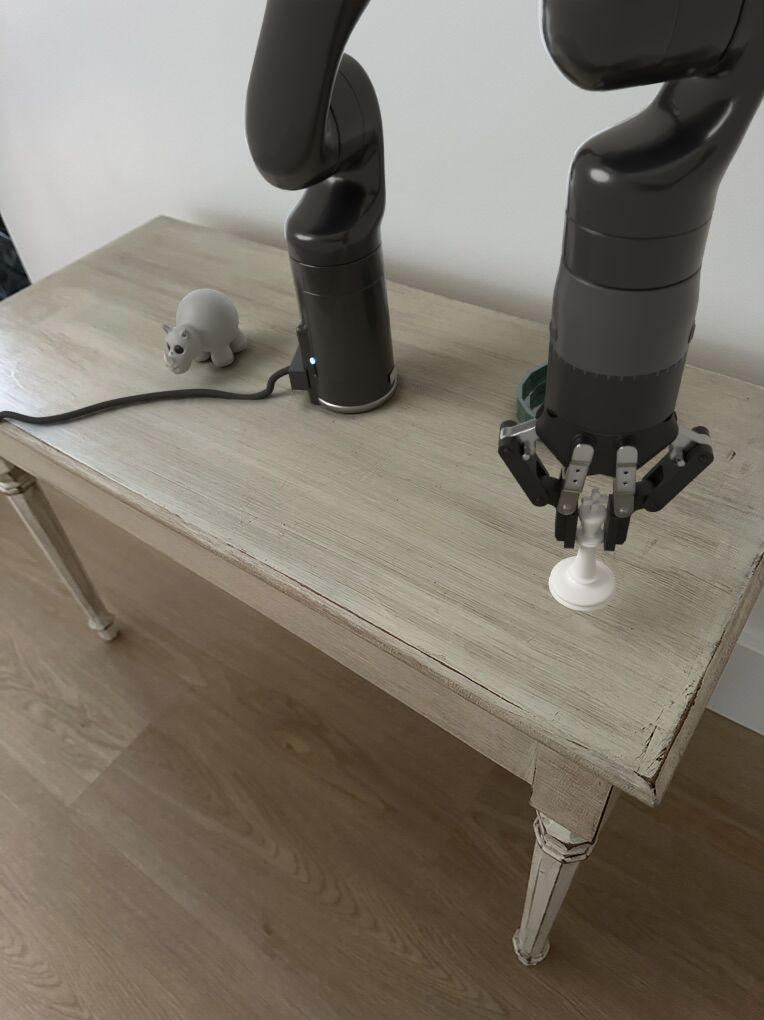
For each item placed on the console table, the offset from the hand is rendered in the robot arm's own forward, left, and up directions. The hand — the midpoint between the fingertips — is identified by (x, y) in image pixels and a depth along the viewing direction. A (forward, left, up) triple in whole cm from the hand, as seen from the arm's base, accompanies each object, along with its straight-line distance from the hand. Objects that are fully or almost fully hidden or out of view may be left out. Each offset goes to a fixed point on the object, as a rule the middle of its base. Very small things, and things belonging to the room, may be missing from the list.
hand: (588, 540), depth 56 cm
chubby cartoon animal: (-43, +35, -10) cm, 56 cm away
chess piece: (0, 0, -5) cm, 5 cm away
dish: (0, +27, -10) cm, 29 cm away
